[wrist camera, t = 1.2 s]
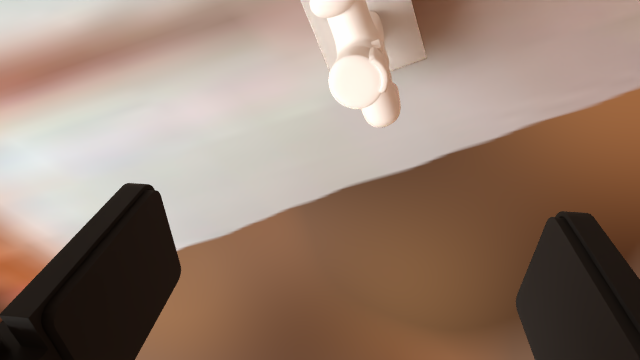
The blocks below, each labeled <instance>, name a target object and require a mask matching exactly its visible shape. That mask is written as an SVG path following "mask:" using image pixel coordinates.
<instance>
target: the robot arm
mask: <svg viewBox="0 0 640 360" xmlns="http://www.w3.org/2000/svg"><path fill="white" fill-rule="evenodd" d="M180 274H181V266H180V262H179V258H178V255H177V251H176V248H175V244H174V241H173V237H172V234H171V230H170V227H169V223H168V220H167V216H166V212H165V209H164V205H163V202H162V198H161V195H160V193H159V192H158V191H155V190H154V188H153V187H152V186H151V185H149V184H134V183H127V184H125V185H123V186H122V187H121V188H120V189H119V190H118V191H117V192H116V193H115V195H114V196H113V197H112V198H111V199H110V200H109V201H108V202H107V203H106V204H105V205H104V206H103V207H102V208H101V209H100V210H99V211H98V212H97V213H96V214H95V215H94V216H93V217H92V219H91V220H90V221H89V222H88V223H87V224H86V225H85V226H84V227H83V228H82V229H81V230H80V231H79V232H78V233H77V234H76V235H75V236H74V237H73V238H72V239H71V240H70V241H69V243H68V244H67V245H66V246H65V247H64V248H63V249H62V250H61V251H60V252H59V253H58V254H57V255H56V256H55V257H54V258H53V259H52V260H51V261H50V262H49V263H48V264H47V265H46V267H45V268H44V269H43V270H42V271H41V272H40V273H39V274H38V275H37V276H36V277H35V278H34V279H33V280H32V281H31V282H30V283H29V284H28V285H27V286H26V287H25V288H24V289H23V291H22V292H21V293H20V294H19V295H18V296H17V297H16V298H15V299H14V300H13V301H12V302H11V303H10V304H9V305H8V306H7V307H6V308H5V309H4V310H3V311H2V312H1V314H0V317H1V319H2V320H3V321H2V322H1V323H0V360H135V358H136V356H137V355H138V353H139V351H140V349H141V347H142V346H143V344H144V342H145V340H146V338H147V337H148V335H149V333H150V331H151V329H152V328H153V326H154V324H155V322H156V320H157V318H158V317H159V315H160V313H161V311H162V309H163V308H164V306H165V304H166V302H167V300H168V298H169V297H170V295H171V293H172V291H173V289H174V288H175V286H176V284H177V282H178V280H179V277H180ZM516 307H517V311H518V314H519V317H520V320H521V322H522V325H523V328H524V331H525V333H526V336H527V339H528V342H529V344H530V347H531V350H532V352H533V355H534V358H535V360H640V279H639V278H638V277H637V275H636V274H635V273H634V271H633V270H632V269H631V267H630V266H629V264H628V263H627V262H626V260H625V259H624V258H623V256H622V255H621V254H620V252H619V251H618V250H617V248H616V247H615V245H614V244H613V243H612V242H611V240H610V239H609V237H608V236H607V235H606V233H605V232H604V231H603V229H602V228H601V226H600V225H599V224H598V222H597V221H596V220H595V218H594V217H593V216H592V215H591V214H588V213H578V212H564V211H562V212H559V213H558V214H557V215H556V217H551V218H549V219H548V221H547V222H546V225H545V227H544V230H543V232H542V235H541V237H540V240H539V242H538V245H537V248H536V250H535V252H534V254H533V257H532V260H531V262H530V264H529V267H528V269H527V272H526V274H525V277H524V279H523V282H522V284H521V287H520V289H519V292H518V294H517V298H516Z"/></svg>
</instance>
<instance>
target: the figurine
mask: <svg viewBox="0 0 640 360" xmlns="http://www.w3.org/2000/svg"><path fill="white" fill-rule="evenodd" d="M301 3H302V5H303V8H304V10H305V13H306V15H307V18H308V20H309V23H310V25H311V27H312V30H313V32H314V35H315V37H316V40H317V42H318V45H319V47H320V50H321V52H322V55H323V57H324V60H325V62H326V65H327V67H328V70H329V72H330V74H329V87H330V91H331V93H332V95H333V96H334V98H335V99H336V100H337V101H338V102H339V103H340V104H342V105H343V106H345V107H348V108H352V109H361V110H362V113H363V115H364V117H365V119H366V121H367V122H368V123H369V124H370V125H371V126H374V127H378V128H380V127H386V126H388V125H390V124H392V123H393V122H394V121H395V120H396V119H397V118H398V116H399V113H400V108H401V106H400V98H399V91H398V88H397V86H396V84H394V83H393V82H392V80H391V73H390V71H392V70H395V69H398V68H401V67H404V66H407V65H409V64H412V63H415V62H418V61H421V60H423V59H426V58H427V57H426V53H425V49H424V45H423V42H422V38H421V34H420V31H419V27H418V23H417V20H416V16H415V12H414V9H413V5H412V1H411V0H301Z"/></svg>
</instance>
